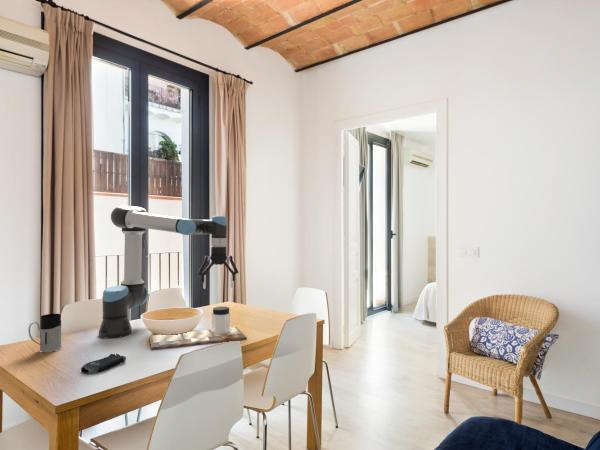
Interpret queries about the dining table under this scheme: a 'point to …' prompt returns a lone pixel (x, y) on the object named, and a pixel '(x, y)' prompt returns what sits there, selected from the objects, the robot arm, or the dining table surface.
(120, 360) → the electronic device
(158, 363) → the dining table surface
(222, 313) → the jar
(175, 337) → the board
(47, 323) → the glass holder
